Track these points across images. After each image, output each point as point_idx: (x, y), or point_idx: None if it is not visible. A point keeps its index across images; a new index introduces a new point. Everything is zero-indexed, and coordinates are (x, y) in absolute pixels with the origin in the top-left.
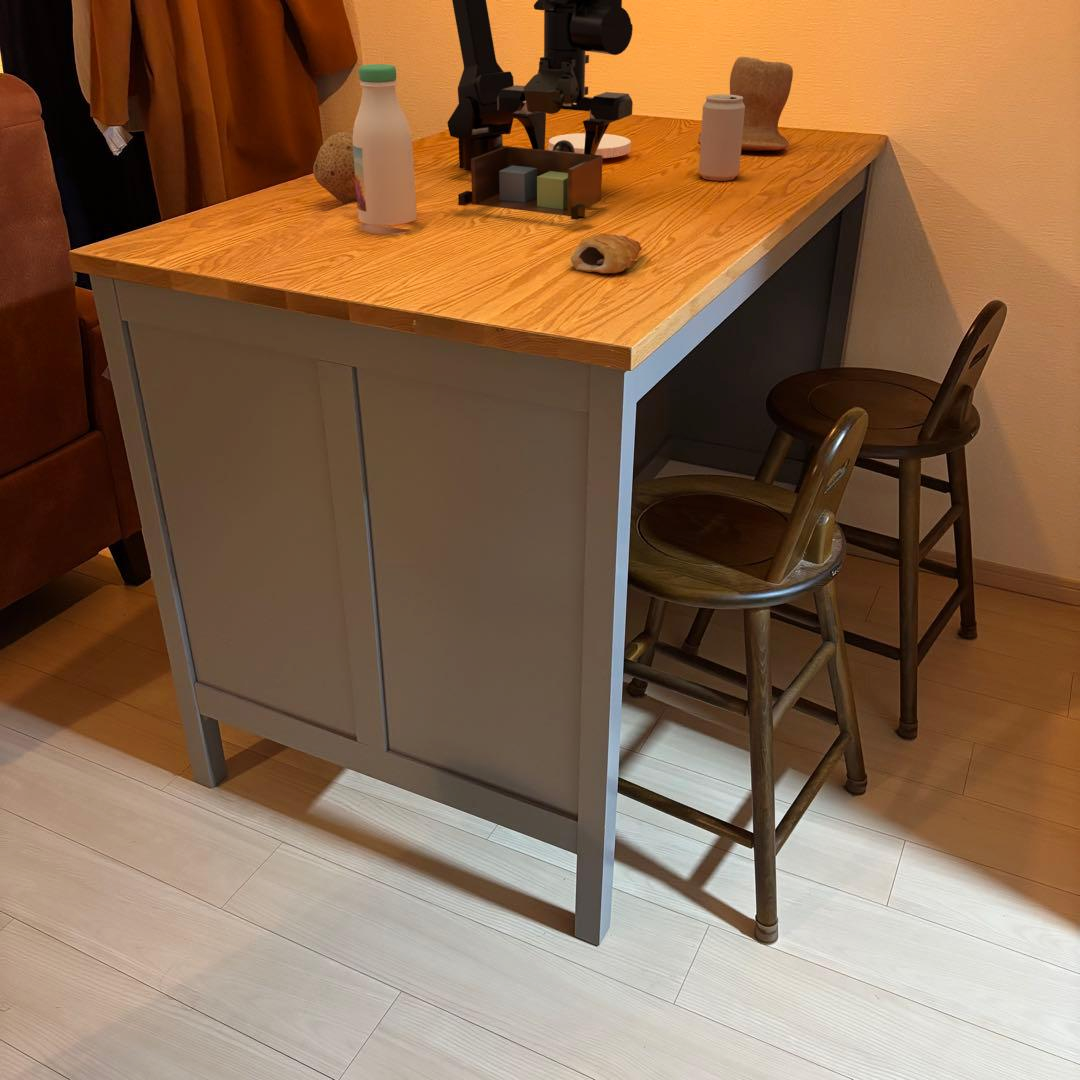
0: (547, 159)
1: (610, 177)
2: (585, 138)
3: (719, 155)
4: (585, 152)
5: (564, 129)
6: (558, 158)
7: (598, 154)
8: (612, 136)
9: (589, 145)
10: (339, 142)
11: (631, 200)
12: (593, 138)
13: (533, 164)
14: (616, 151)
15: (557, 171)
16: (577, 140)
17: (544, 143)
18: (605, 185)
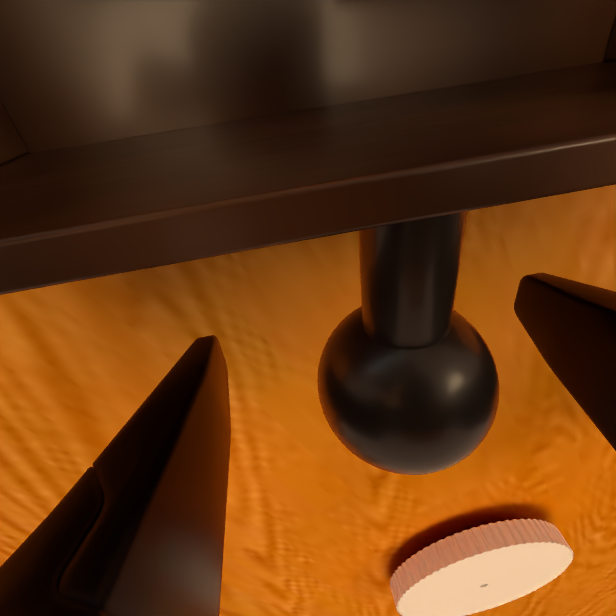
0: (446, 135)
1: (344, 490)
2: (125, 531)
3: None
4: (174, 406)
5: (560, 595)
6: (321, 161)
7: (434, 554)
8: (451, 613)
9: (106, 470)
10: None
11: (102, 370)
12: (4, 567)
13: (557, 103)
14: (404, 578)
15: (310, 137)
16: (510, 576)
17: (591, 412)
18: (309, 442)
